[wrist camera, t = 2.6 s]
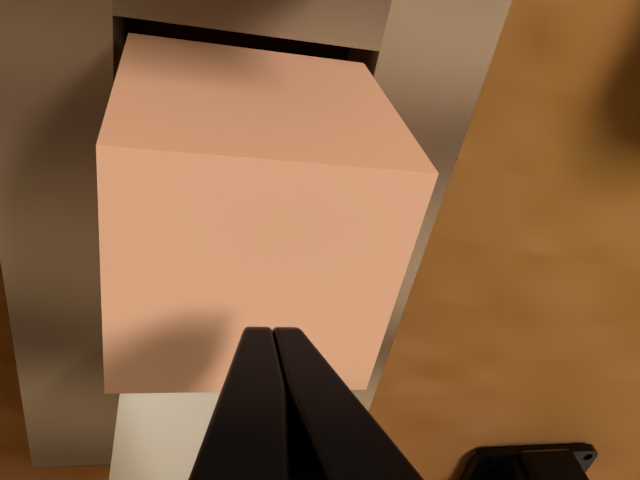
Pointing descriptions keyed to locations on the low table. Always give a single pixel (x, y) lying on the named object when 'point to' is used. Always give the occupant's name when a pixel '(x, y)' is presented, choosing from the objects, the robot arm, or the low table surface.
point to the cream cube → (159, 434)
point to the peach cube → (248, 210)
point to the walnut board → (81, 169)
